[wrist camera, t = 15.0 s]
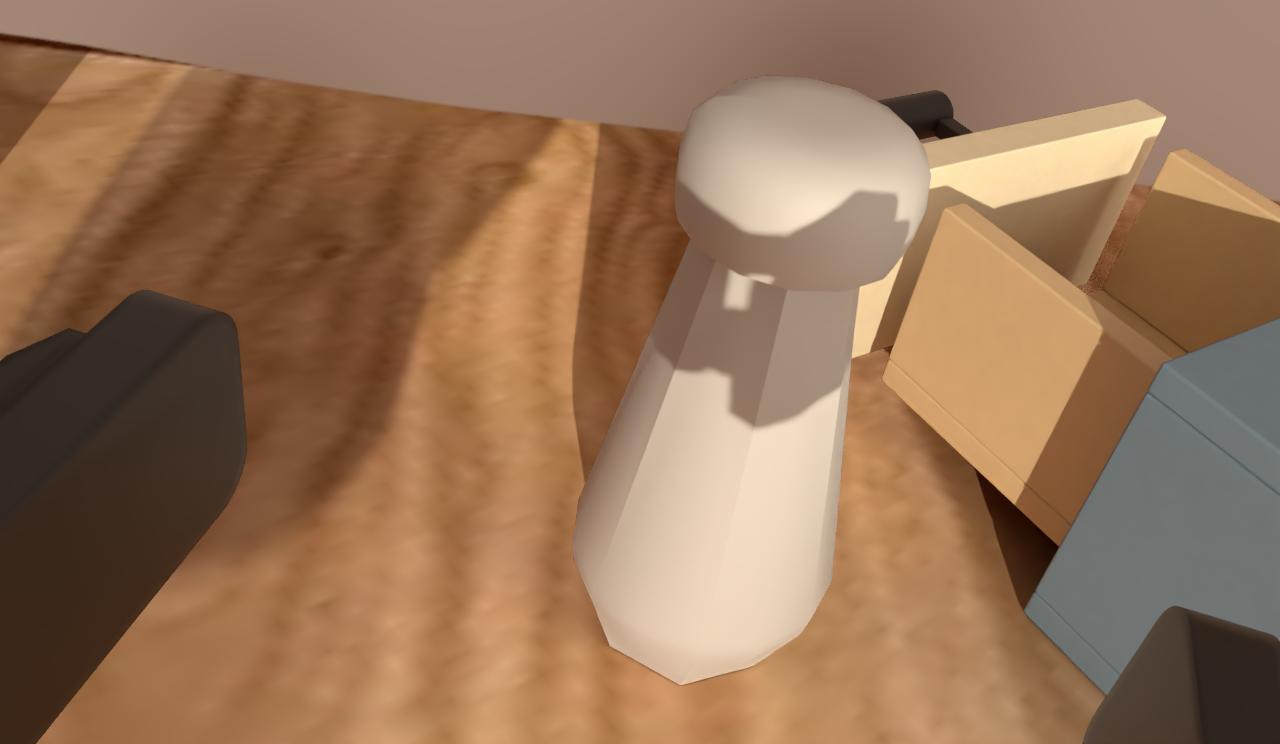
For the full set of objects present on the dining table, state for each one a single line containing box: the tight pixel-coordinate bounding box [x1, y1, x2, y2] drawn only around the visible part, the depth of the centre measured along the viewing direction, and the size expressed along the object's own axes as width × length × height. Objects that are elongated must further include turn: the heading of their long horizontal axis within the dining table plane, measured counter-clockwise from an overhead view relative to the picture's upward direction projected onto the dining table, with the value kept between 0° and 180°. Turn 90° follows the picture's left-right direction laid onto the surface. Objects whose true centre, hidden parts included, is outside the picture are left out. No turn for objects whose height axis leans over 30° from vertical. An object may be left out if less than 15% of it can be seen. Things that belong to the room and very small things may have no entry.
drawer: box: [852, 91, 1280, 546], centre depth 33 cm, size 19×11×6 cm, turn 32°
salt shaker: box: [573, 75, 931, 685], centre depth 24 cm, size 6×6×13 cm
